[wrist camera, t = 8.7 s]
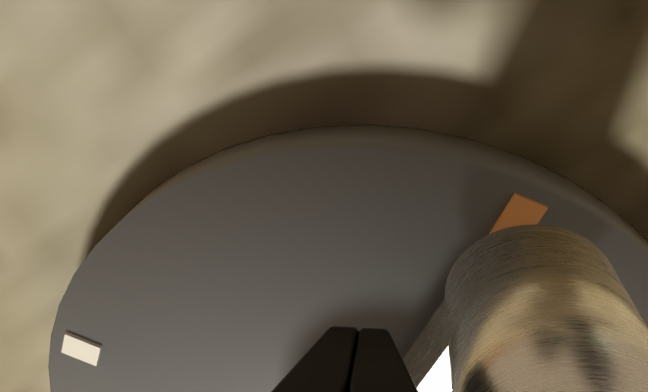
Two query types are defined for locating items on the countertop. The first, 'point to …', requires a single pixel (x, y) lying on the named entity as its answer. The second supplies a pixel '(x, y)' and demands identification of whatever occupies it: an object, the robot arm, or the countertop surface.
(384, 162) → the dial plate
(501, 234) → the silver dumbbell
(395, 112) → the countertop surface
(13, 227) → the countertop surface
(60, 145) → the countertop surface
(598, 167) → the countertop surface
